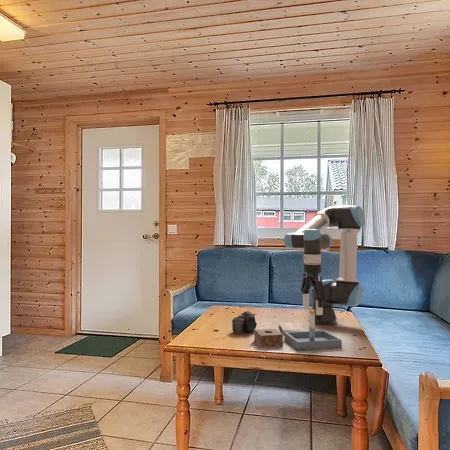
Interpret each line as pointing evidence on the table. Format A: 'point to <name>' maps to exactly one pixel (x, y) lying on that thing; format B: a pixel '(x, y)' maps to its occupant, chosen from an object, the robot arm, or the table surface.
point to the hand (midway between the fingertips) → (312, 311)
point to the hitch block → (268, 337)
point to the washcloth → (290, 327)
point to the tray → (321, 341)
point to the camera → (244, 323)
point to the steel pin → (311, 325)
